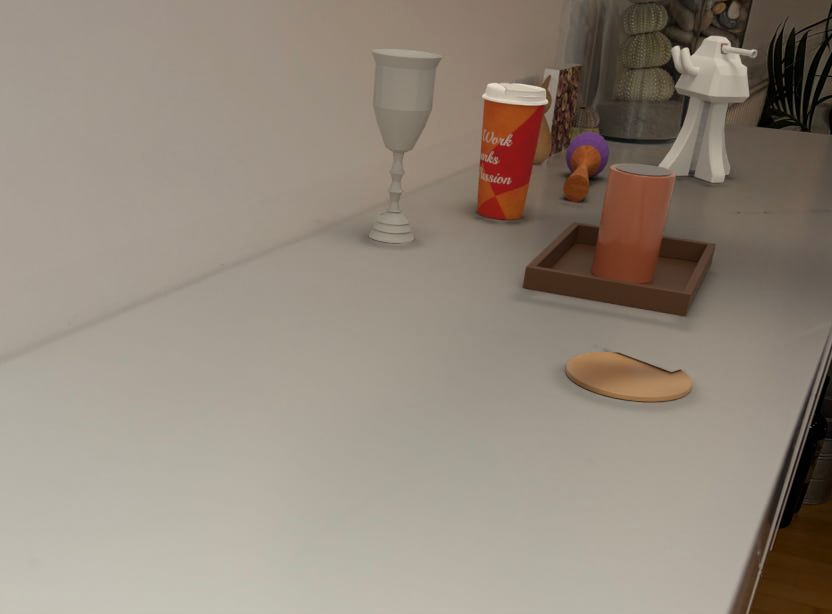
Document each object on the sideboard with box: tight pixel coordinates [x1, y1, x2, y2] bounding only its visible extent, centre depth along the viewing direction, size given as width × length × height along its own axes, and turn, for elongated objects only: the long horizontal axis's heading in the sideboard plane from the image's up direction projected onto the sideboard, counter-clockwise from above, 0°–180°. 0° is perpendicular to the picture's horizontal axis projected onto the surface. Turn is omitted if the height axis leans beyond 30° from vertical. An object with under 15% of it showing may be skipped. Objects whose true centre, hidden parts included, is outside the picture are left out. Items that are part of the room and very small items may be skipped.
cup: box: [591, 163, 678, 284], centre depth 108 cm, size 6×6×10 cm
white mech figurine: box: [657, 35, 758, 184], centre depth 157 cm, size 12×13×18 cm
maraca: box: [562, 131, 610, 203], centre depth 148 cm, size 6×6×20 cm
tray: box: [522, 221, 717, 317], centre depth 110 cm, size 22×16×3 cm
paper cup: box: [476, 82, 549, 220], centre depth 129 cm, size 8×8×14 cm
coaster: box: [565, 351, 693, 403], centre depth 87 cm, size 10×10×1 cm
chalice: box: [368, 48, 443, 244], centre depth 115 cm, size 7×7×18 cm
